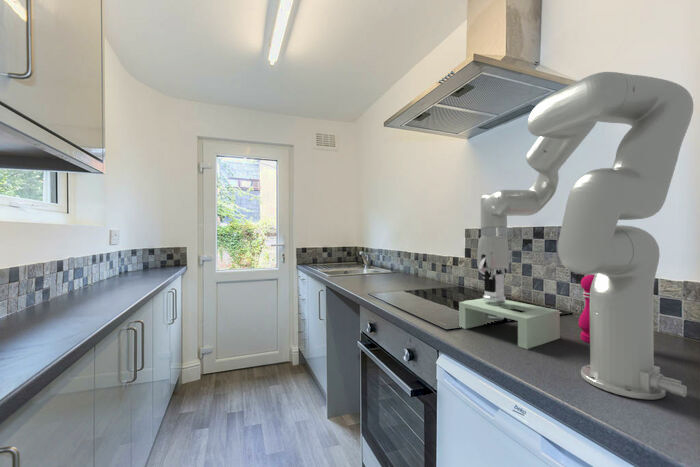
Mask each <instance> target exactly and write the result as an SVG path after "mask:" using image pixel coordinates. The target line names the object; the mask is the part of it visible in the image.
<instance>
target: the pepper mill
mask: <svg viewBox="0 0 700 467" xmlns="http://www.w3.org/2000/svg"><path fill="white" fill-rule="evenodd" d="M594 276H595V275H585V276H583V277H582V278H581V280H580V287H581V288H582V289H583V291H582V293H583V294H582V296H583V298H584V301H585V305H584V309H583V311H582V312H581V314H580V316H579V318H578V327H579V328H580V329H581V330H582V331H581V332H580V340H582V341H583V342H586V343H589V344H590V288H591V284H592V281H593V279H594Z"/></svg>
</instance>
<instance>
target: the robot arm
mask: <svg viewBox="0 0 700 467" xmlns="http://www.w3.org/2000/svg"><path fill="white" fill-rule="evenodd" d="M693 113H694V101H693V96H692V95H691V93H690V92H689V91H688V89H687V88H685V87H684V86H682V85H681V84H678V83H676V82H674V81H672V80H671V81H670V80H667V79H663V78H658V77H654V76H653V77H652V76H647V75H639V74H630V73H624V72H616V71H601V72H597V73H592V74H591V75H587V76H586V77H584V78H583V77H582V79H579V80H577V81H576V82H573V83H571V84H569V85H567V86H565V87H564V88H562V89H559V90H557V91H555V92H553V93H551V94H549V95H547V97H544V98H543V99H542V100H541V101H539V102H538V103H537V104H536V105H535V106H534V108H533V109H532V110H531V112H530V114H529V116H528V119H527V125H526V126H527V129H528V131H529V133H530V134H531V135H533V136H534V137H537V139H536V140H535V142H534V143H533V144H532V146H531V148H530V149H529V150H528V151H527V153H526V155H525V160H526V163H527V164H528V166H530V167H531V169H533V170H534V171H535V172H537V173H538V177H537V178H536V180H535V181H534V183H533V184H532V185H531V186H530V188H529V189H500V190H498V191H495V192H493V193H486V194H484V195H482V196H481V197H480V237H479V240H478V246H477V256H476V257H477V258H476V262H477V263H476V266H477V270H478V272H479V273H481V275H482V278H483V279H484V283H483V284H484V286H483V287H484V288H483V289H484V290H485V291H487V292H495V279H493V274H494V273H498V274H504V279H505V278H506V274H507V271H508V270H509V269H510V250H509V241H508V217H509V216H511V217H513V216H533V215H535V214H537V213H539V212H540V211H541V210H542V209H543V208H544V207H545V206H546V205H547V204H548V203H549V202H550V201H551V199H552V198H553V197H554V195H555V193H556V191H557V188H558V185H559V171H560V169H561V167H563V165H564V164H565V163H566V162H567V160H568V159H569V158H570V157H571V155H572V154H573V153H574V152H575V151H576V149H577V148H578V147H579V146H580V145H581V144H582V143H583V141H584V140H585V139H586V138H587V136H588V135H589V134H590V133H591V131H592V130H593V129H594V128H595V126H596V124H597V122H600V123H609V124H622V125H623V124H624V125H625V124H626V125H629V126H631V128H629V129H628V130H627V132H626V133H625V134H624V136H623V138H622V139H621V140H620V142H619V145H618V146H617V148H616V152H615V158H614V161H613V164H612V167H603V168H596V169H593V170H590V171H588V172H586V173H584V174H583V175H581V177H579V178H578V179H577V180H576V181H575V183H574V184H573V186H572V188H571V190H570V191H569V194H568V197H567V200H566V205H565V210H564V215H563V219H562V223H561V227H560V233H559V236H558V242H557V252H558V253H557V254H558V257H559V258H558V259H559V260H560V262H561V264H562V265H563V266H564V267H565V268H566V269H567V270H568V271H569V272H572V273H575V274H577V275H585V276H587V275H595V276H594V279H593V281H592V284H591V288H590V343H589V364H587V365H584V366H582V367H581V369H580V375H581V378H583V379H584V380H585V381H586V382H587V383H589V384H591V385H592V386H594V387H596V388H599V389H601V390H604V391H606V392H609V393H612V394H615V395H618V396H619V395H620V396H623V397H627V398H632V399H639V400H650V401H651V400H660V399H663V398H664V397H666V395H667V393H666V392H669V393H670V394H673V395H676V396H680V397H683V398H686V397H687V393H688V388H687V387H688V386H686V385H684V384H682V381H681V380H678V379H675V378H672V377H671V378H670V377H666V376H664V374H662V373H661V367H660V366H656V365H654V364H655V360H654V359H655V358H654V355H655V352H654V350H655V349H654V347H655V346H654V289H655V288H654V287H655V280H656V275H657V270H658V267H659V261H660V257H661V256H660V247H659V243H658V242H657V240H656V239H655V237H654V236H653V235H652V234H651V233H649V232H648V231H646V230H644V229H642V228H640V227H635V226H632V225H622V224H621V225H618V222H619V220H620V221H626V220H627V221H628V220H629V221H631V220H632V221H634V220H635V221H636V220H643V219H647V218H652V217H653V216H655V215H656V214H657V213H659V212H660V211H661V209H662V208H663V206H664V204H665V202H666V199H667V197H668V193H669V189H670V185H671V183H672V180H673V176H674V172H675V171H676V170H675V169H676V165H677V163H678V159H679V155H680V151H681V147H682V145H683V141H684V139H685V136H686V133H687V132H688V130H689V126H690V125H691V124H690V123H691V120H692V117H693ZM489 273H490V274H489ZM485 291H484V292H485Z"/></svg>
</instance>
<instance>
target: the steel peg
mask: <svg viewBox="0 0 700 467" xmlns="http://www.w3.org/2000/svg"><path fill="white" fill-rule="evenodd" d="M489 274H490V272H489ZM493 279H495V292H487V291H485V290H484V294H483V295H482V298H483V300H484V301H486V302H490V304H493V305H497V306H498V303H505V302H506V300H507V299H506V296H505V278H504V274H498V273H495V272H494V274H493ZM485 317H486V318H487V319H490V320H497V322H498V321H503V320H504V319H505V317H501V316H497V315H493V314H489V313H485Z"/></svg>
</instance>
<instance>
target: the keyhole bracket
mask: <svg viewBox="0 0 700 467" xmlns="http://www.w3.org/2000/svg"><path fill="white" fill-rule="evenodd" d="M469 300H470V301H467V300H464V301H459V302H458V319H459V320H458V323H459V324H458V325H459V326H460V327H459V326H458V327H459V328H461V327H462V328H461V329H464V330H467V329H472V328H476V327H480V326H484V324H485V325H488V324H487V323H489V324H491V322H493V323H495V322H494V321H497V320H490V319H487V318H486V317H485V313H489V314H493V315H497V316H501V317H504V319H508V320H513V321H515V322H516V321H517V346H518V347H519V348H523V349H525V350H528V349H532V348H534V347H538V346H541V345H544V344H546V343H547V344H548V343H549V342H553V341H557V340H559V339H561V334H560V332H561V330H560V321H561V320H560V319H561V318H560V309H554V308H548V307H543V306H540V305H539V306H538V305H533V304H528V303H523V302H519V301H514V300H509V299H506V302H505V303H498V306H497V305H493V304H490V302H486V301H484V300H483V297H482V298H477V299H476V298H475V299H469ZM516 310H517V311H516ZM520 311H522V312H520ZM497 322H498V321H497Z"/></svg>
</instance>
